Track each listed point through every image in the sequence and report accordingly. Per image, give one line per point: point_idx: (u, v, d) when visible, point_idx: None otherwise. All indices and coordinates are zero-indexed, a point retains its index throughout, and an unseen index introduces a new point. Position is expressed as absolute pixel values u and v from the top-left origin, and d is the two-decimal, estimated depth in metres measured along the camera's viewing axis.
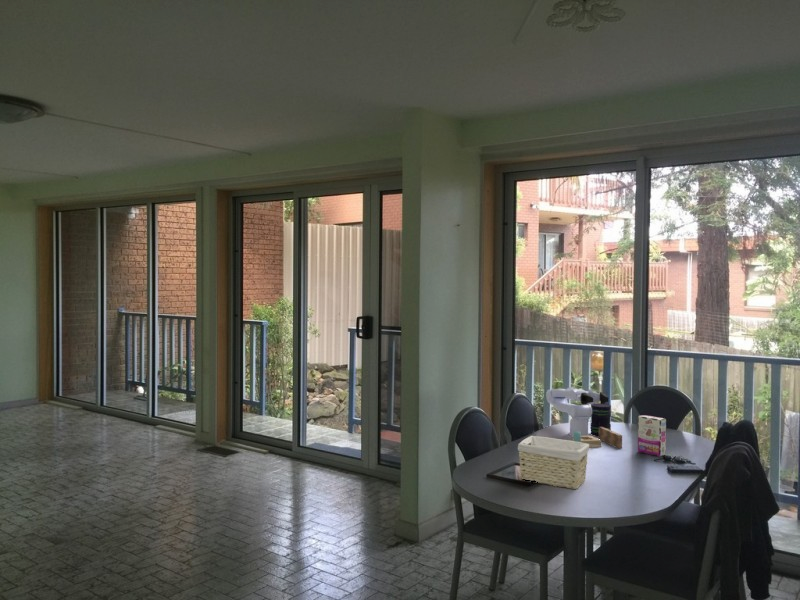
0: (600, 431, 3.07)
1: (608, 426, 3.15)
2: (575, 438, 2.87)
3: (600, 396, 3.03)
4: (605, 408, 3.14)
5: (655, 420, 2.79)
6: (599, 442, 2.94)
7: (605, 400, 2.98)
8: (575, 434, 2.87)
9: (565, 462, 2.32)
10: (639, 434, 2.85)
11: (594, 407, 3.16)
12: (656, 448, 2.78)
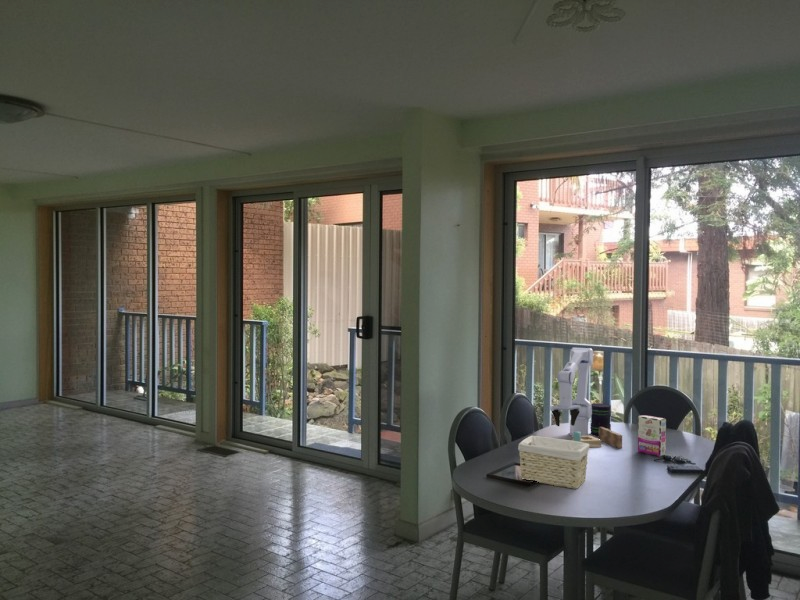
0: (600, 431, 3.07)
1: (608, 426, 3.15)
2: (575, 438, 2.87)
3: (573, 411, 2.96)
4: (605, 408, 3.14)
5: (655, 420, 2.79)
6: (599, 442, 2.94)
7: (571, 421, 2.97)
8: (575, 434, 2.87)
9: (565, 462, 2.32)
10: (639, 434, 2.85)
11: (594, 407, 3.16)
12: (656, 448, 2.78)
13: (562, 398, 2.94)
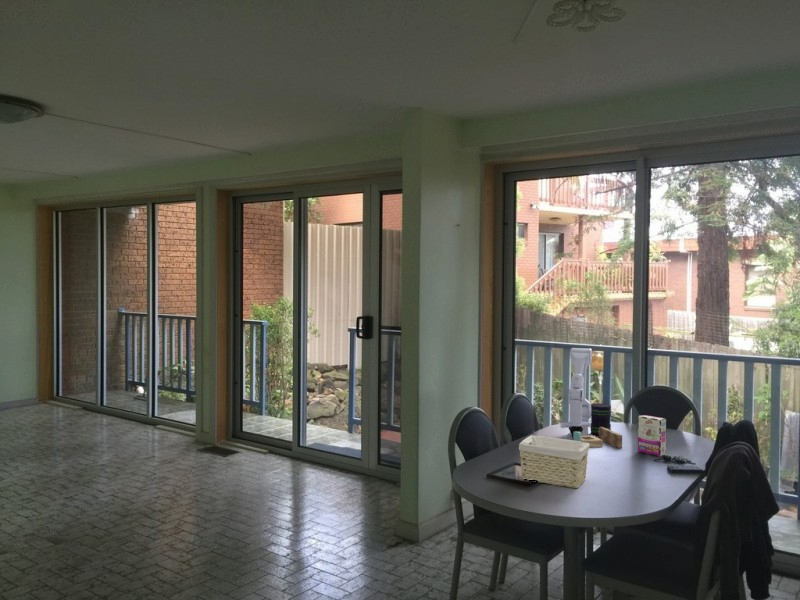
0: (600, 431, 3.07)
1: (608, 426, 3.15)
2: (575, 438, 2.87)
3: (576, 429, 2.96)
4: (605, 408, 3.14)
5: (655, 420, 2.79)
6: (601, 442, 2.94)
7: None
8: (575, 434, 2.87)
9: (566, 461, 2.33)
10: (639, 434, 2.85)
11: (594, 407, 3.16)
12: (656, 448, 2.78)
13: (572, 415, 2.95)
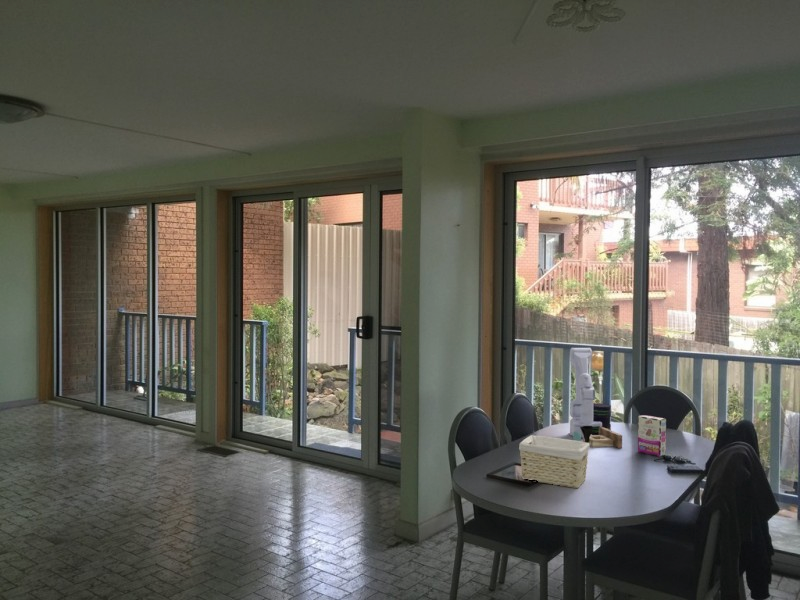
0: (600, 431, 3.07)
1: (608, 426, 3.15)
2: (575, 438, 2.87)
3: None
4: (605, 408, 3.14)
5: (655, 420, 2.79)
6: (611, 441, 2.95)
7: (585, 438, 2.99)
8: (575, 434, 2.87)
9: (566, 461, 2.33)
10: (639, 434, 2.85)
11: (594, 407, 3.16)
12: (656, 448, 2.78)
13: (584, 415, 2.96)
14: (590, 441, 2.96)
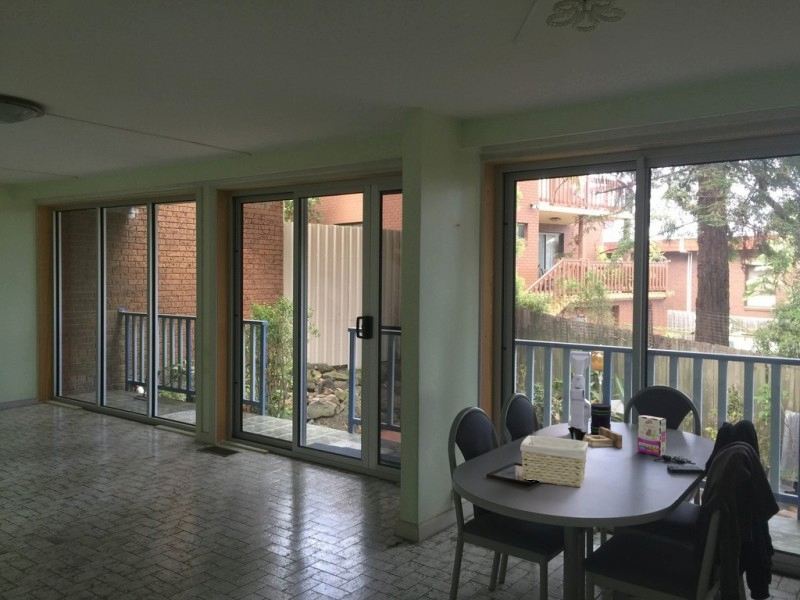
0: (600, 431, 3.07)
1: (608, 426, 3.15)
2: (575, 438, 2.87)
3: None
4: (605, 408, 3.14)
5: (655, 420, 2.79)
6: (611, 441, 2.95)
7: None
8: None
9: (569, 461, 2.34)
10: (639, 434, 2.85)
11: (594, 407, 3.16)
12: (656, 448, 2.78)
13: None
14: (590, 441, 2.96)
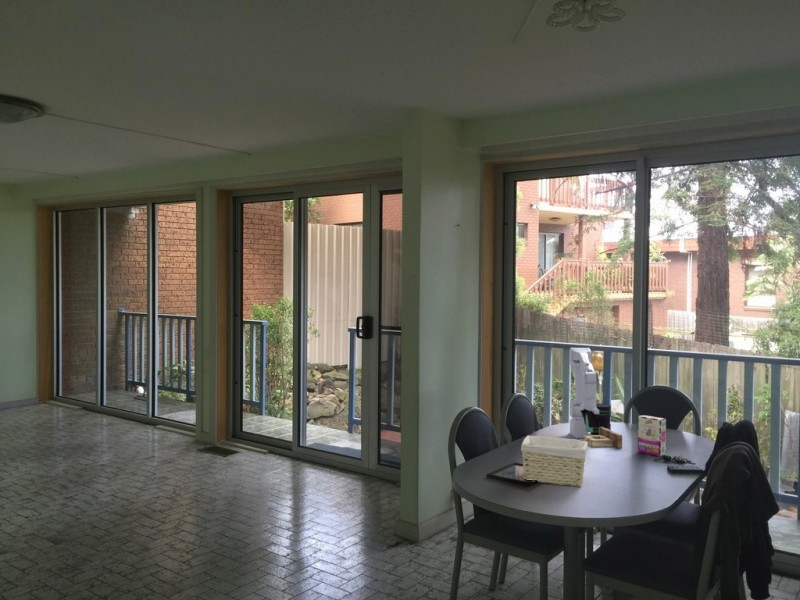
0: (600, 431, 3.07)
1: (608, 426, 3.15)
2: (587, 420, 2.93)
3: None
4: (605, 408, 3.14)
5: (655, 420, 2.79)
6: (611, 441, 2.95)
7: None
8: None
9: (570, 460, 2.34)
10: (639, 434, 2.85)
11: None
12: (656, 448, 2.78)
13: None
14: (590, 441, 2.96)
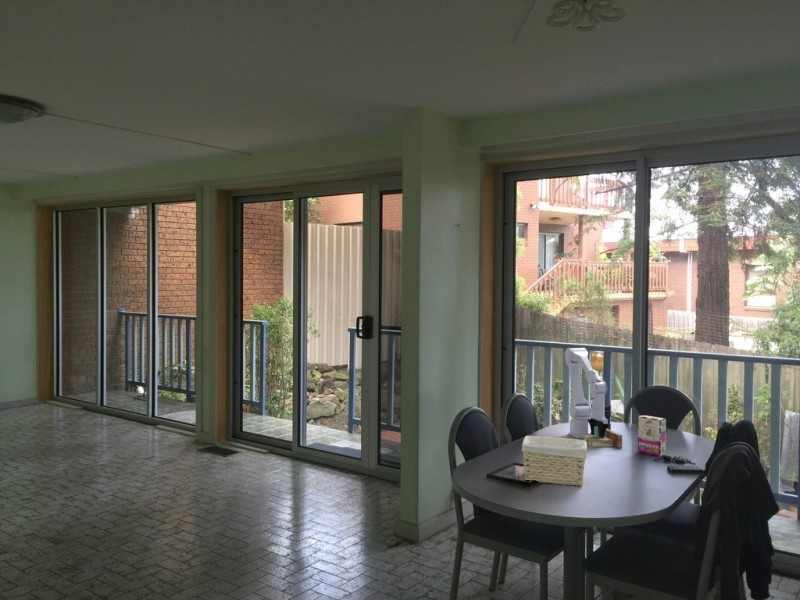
0: None
1: (608, 426, 3.15)
2: (596, 433, 2.98)
3: None
4: (605, 408, 3.14)
5: (655, 420, 2.79)
6: (611, 441, 2.95)
7: None
8: (596, 429, 2.98)
9: (571, 460, 2.35)
10: (639, 434, 2.85)
11: None
12: (656, 448, 2.78)
13: None
14: (590, 441, 2.96)
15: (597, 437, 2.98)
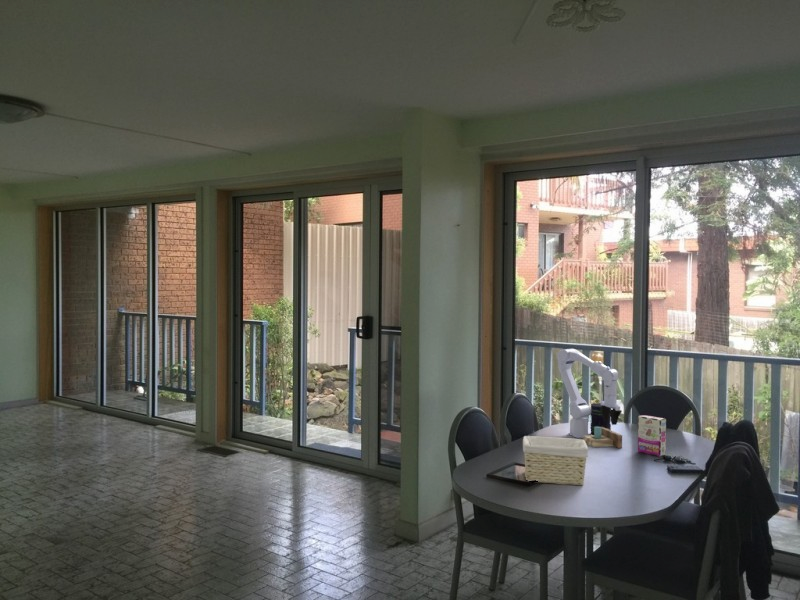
0: None
1: (608, 426, 3.15)
2: (596, 433, 2.98)
3: None
4: None
5: (655, 420, 2.79)
6: (611, 441, 2.95)
7: None
8: (596, 429, 2.98)
9: (573, 460, 2.35)
10: (639, 434, 2.85)
11: (594, 407, 3.16)
12: (656, 448, 2.78)
13: None
14: (590, 441, 2.96)
15: (597, 437, 2.98)
